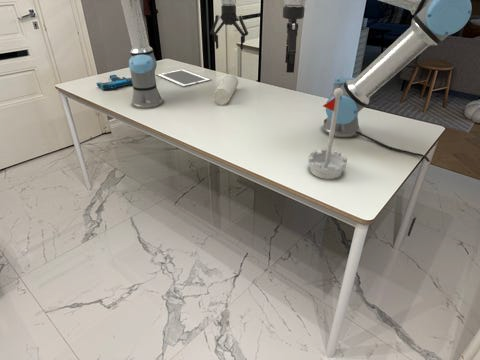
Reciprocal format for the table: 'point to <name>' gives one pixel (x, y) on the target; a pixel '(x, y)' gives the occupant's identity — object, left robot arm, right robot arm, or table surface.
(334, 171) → the flag stand
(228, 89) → the white cylinder
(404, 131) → the table surface
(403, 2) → the right robot arm
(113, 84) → the submachine gun
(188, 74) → the tablet
